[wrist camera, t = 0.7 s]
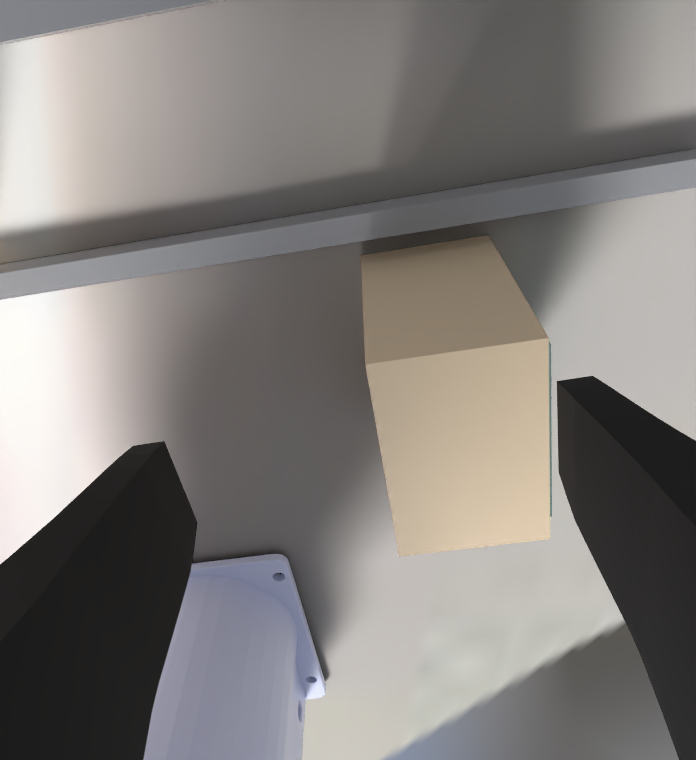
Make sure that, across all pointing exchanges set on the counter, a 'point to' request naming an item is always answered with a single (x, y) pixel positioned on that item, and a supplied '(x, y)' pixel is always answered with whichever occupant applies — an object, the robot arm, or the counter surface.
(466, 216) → the pair of grey rails
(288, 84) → the counter surface
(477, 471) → the box
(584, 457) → the robot arm
